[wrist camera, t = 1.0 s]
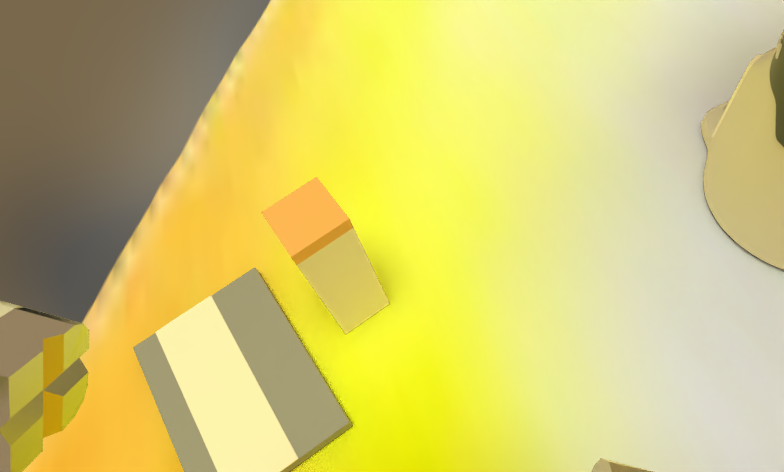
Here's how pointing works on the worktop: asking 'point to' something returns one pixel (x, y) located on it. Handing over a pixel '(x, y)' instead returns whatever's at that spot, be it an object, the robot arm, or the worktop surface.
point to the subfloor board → (239, 384)
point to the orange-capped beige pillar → (328, 253)
